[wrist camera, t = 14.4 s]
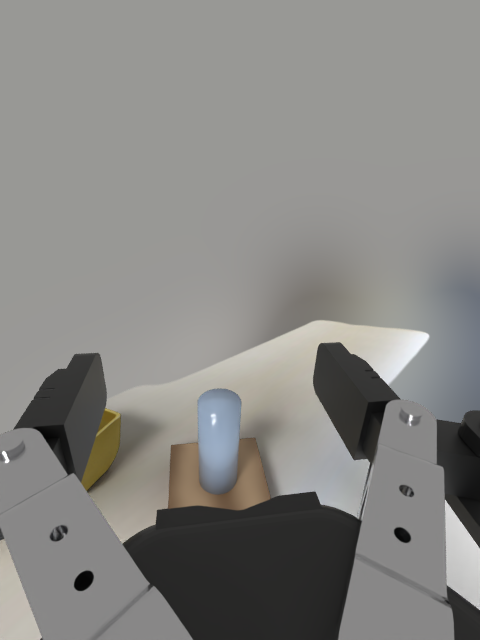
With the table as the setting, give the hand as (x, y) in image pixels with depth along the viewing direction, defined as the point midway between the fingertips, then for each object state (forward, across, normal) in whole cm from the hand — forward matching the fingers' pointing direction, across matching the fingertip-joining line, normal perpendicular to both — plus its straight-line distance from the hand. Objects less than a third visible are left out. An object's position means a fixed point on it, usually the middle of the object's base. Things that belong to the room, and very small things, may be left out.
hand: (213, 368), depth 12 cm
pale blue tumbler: (+19, -2, +29) cm, 35 cm away
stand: (+19, -2, +32) cm, 37 cm away
